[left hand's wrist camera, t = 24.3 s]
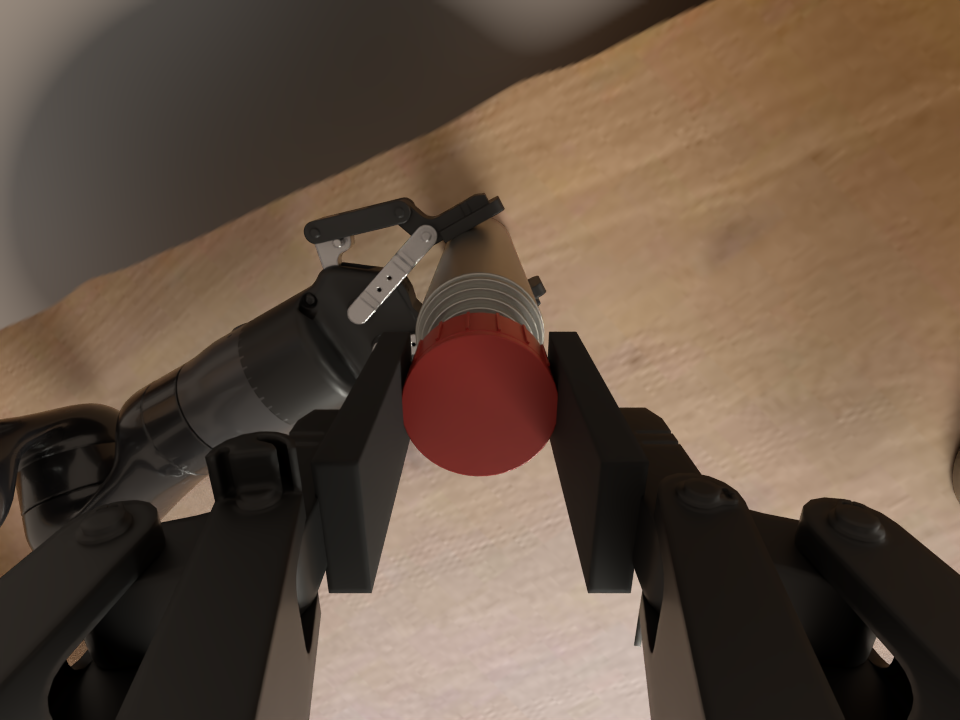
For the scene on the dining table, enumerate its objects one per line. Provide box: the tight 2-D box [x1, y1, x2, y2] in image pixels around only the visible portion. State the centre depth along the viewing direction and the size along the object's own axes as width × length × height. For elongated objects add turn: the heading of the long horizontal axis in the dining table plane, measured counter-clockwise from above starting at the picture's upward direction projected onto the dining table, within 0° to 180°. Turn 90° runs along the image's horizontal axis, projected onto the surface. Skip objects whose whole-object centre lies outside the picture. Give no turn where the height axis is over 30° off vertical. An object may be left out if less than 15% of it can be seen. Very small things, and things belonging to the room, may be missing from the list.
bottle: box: [415, 218, 544, 346], centre depth 24 cm, size 4×4×24 cm
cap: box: [402, 311, 558, 476], centre depth 14 cm, size 4×4×2 cm
